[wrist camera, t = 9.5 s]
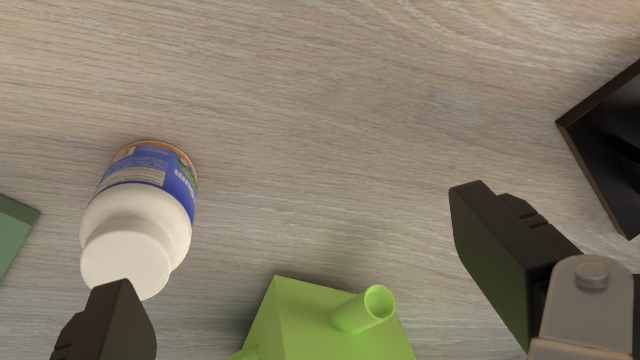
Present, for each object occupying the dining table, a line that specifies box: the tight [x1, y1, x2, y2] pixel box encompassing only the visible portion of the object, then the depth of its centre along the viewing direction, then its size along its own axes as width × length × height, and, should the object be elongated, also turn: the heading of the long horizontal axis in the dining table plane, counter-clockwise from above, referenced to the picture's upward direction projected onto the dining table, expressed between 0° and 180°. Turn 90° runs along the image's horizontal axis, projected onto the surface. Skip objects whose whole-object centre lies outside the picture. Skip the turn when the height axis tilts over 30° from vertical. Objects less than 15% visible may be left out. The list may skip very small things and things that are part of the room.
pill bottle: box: [79, 140, 198, 301], centre depth 28 cm, size 5×5×10 cm
